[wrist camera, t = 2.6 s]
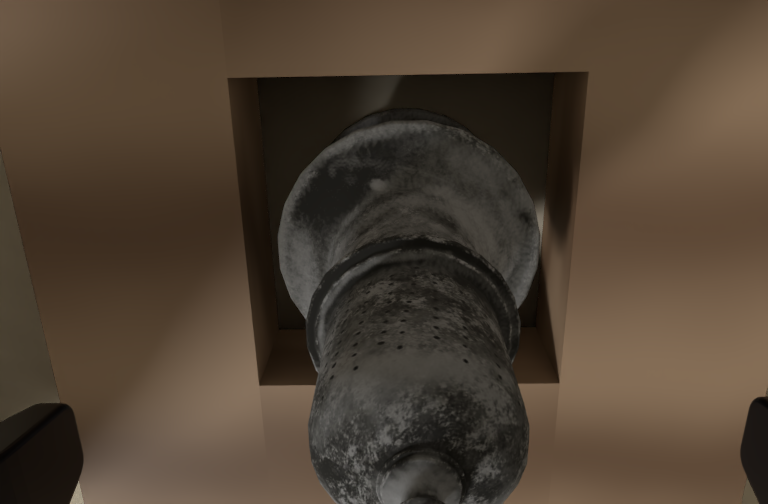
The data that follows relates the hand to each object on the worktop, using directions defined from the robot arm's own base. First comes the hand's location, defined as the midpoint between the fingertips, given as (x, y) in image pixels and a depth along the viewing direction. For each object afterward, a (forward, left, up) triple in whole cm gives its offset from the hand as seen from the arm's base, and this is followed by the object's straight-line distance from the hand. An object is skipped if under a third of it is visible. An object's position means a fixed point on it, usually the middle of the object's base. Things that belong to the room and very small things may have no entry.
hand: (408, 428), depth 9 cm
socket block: (0, 0, -10) cm, 10 cm away
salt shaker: (0, 0, -10) cm, 10 cm away
